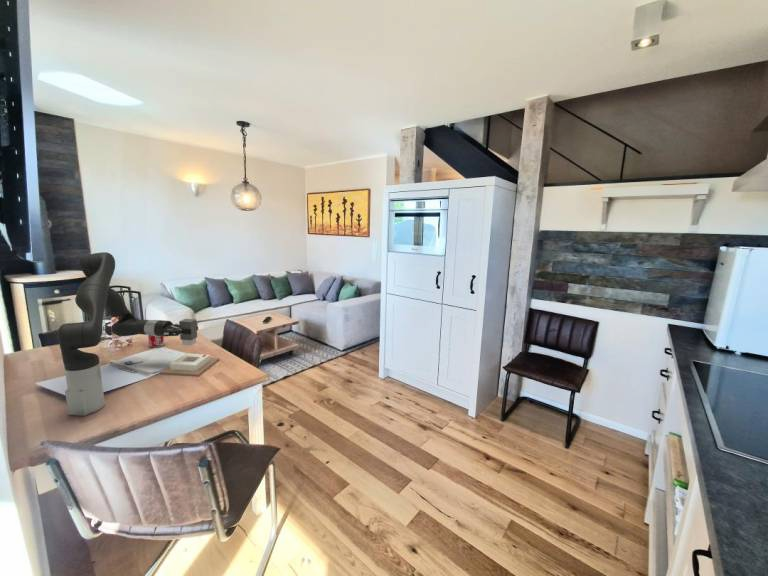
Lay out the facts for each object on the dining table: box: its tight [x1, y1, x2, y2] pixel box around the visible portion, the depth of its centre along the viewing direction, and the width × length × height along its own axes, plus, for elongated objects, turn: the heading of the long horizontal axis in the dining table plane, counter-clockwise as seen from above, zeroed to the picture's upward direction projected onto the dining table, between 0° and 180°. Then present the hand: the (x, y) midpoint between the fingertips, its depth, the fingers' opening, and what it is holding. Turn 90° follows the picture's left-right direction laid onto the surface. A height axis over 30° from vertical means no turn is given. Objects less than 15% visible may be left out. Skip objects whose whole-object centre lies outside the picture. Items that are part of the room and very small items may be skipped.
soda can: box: [147, 335, 165, 349], centre depth 177 cm, size 7×7×12 cm
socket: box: [159, 353, 220, 377], centre depth 155 cm, size 18×18×4 cm
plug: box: [178, 318, 198, 346], centre depth 152 cm, size 4×5×12 cm
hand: (194, 330), depth 152 cm, fingers closed on plug, 4 cm apart
